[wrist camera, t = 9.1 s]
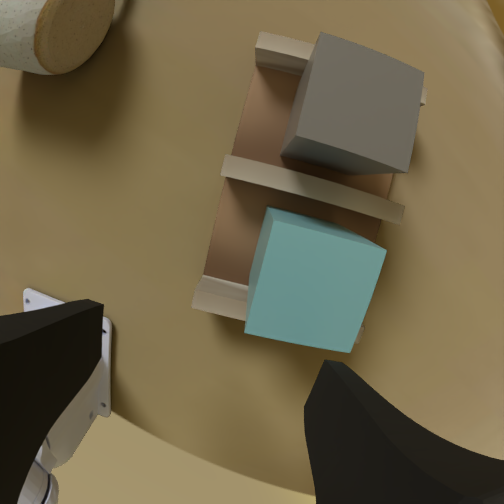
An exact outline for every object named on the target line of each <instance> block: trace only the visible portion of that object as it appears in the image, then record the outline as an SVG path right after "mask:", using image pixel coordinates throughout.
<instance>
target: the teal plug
mask: <svg viewBox="0 0 504 504" xmlns="http://www.w3.org/2000/svg"><path fill="white" fill-rule="evenodd" d="M386 252H387V250H385V249H384V248H382V247H380V246H378V245H376V244H375V243H373V242H371V241H369V240H367V239H366V238H364V237H362V236H360V235H358V234H356V233H354V232H353V231H351V230H349V229H347V228H345V227H343V226H341V225H339V224H337V223H334V222H330V221H326V220H323V219H319V218H315V217H312V216H308V215H304V214H300V213H296V212H293V211H289V210H285V209H281V208H277V207H273V206H269V205H267V207H266V211H265V215H264V219H263V223H262V227H261V231H260V235H259V239H258V243H257V247H256V251H255V255H254V259H253V263H252V267H251V271H250V275H249V286H248V297H247V308H246V319H245V330H244V333H247V334H251V335H256V336H261V337H265V338H270V339H275V340H280V341H285V342H290V343H295V344H300V345H306V346H311V347H317V348H322V349H328V350H334V351H340V352H346V353H350V352H351V349H352V347H353V344H354V342H355V339H356V337H357V334H358V332H359V329H360V327H361V324H362V322H363V319H364V316H365V314H366V311H367V308H368V306H369V303H370V300H371V297H372V294H373V292H374V289H375V286H376V283H377V280H378V277H379V274H380V271H381V268H382V265H383V262H384V258H385V255H386Z"/></svg>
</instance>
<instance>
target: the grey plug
mask: <svg viewBox="0 0 504 504" xmlns="http://www.w3.org/2000/svg"><path fill="white" fill-rule="evenodd" d="M423 81H424V72H422V71H420V70H418V69H416V68H414V67H412V66H410V65H408V64H405V63H403V62H401V61H399V60H397V59H394V58H392V57H390V56H387V55H385V54H382V53H380V52H378V51H375V50H372V49H370V48H367V47H365V46H362V45H359V44H356V43H354V42H351V41H348V40H345V39H342V38H339V37H336V36H333V35H330V34H326V33H323V32H320V35H319V37H318V39H317V42H316V44H315V46H314V49H313V51H312V53H311V56H310V58H309V60H308V63H307V65H306V67H305V70H304V72H303V75H302V77H301V79H300V82H299V84H298V86H297V89H296V93H295V97H294V101H293V105H292V109H291V113H290V117H289V121H288V125H287V129H286V133H285V137H284V141H283V145H282V149H281V153H280V155H281V156H284V157H288V158H292V159H296V160H299V161H303V162H306V163H310V164H313V165H317V166H320V167H324V168H327V169H330V170H333V171H337V172H340V173H343V174H346V175H349V176H354V175H371V174H391V173H408V169H409V164H410V160H411V155H412V150H413V145H414V140H415V134H416V128H417V123H418V117H419V110H420V103H421V96H422V89H423Z"/></svg>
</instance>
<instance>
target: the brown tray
mask: <svg viewBox="0 0 504 504" xmlns="http://www.w3.org/2000/svg"><path fill="white" fill-rule="evenodd" d="M314 46H315V44H311V43H308V42H304V41H300V40H297V39H293V38H289V37H284V36H280V35H276V34H271V33H266V32H261V31H260V34H259V37H258V40H257V43H256V47H255V55H256V66H255V69H254V73H253V76H252V80H251V83H250V87H249V90H248V94H247V98H246V101H245V105H244V108H243V112H242V116H241V120H240V123H239V127H238V131H237V135H236V138H235V142H234V146H233V150H232V154H231V155H228V154H225V158H224V162H223V166H222V170H221V174H220V175H222V176H226V178H225V182H224V186H223V190H222V194H221V198H220V203H219V207H218V211H217V215H216V220H215V224H214V228H213V233H212V237H211V242H210V246H209V251H208V255H207V260H206V264H205V269H204V274H203V276H202V278H201V280H200V281H199V283H198V285H197V287H196V288H195V291H194V296H193V301H192V306H191V308H195V309H198V310H202V311H206V312H210V313H214V314H218V315H222V316H226V317H230V318H234V319H239V320H243V321H245V319H246V308H247V297H248V286H249V275H250V271H251V267H252V263H253V259H254V255H255V251H256V247H257V243H258V239H259V235H260V231H261V227H262V223H263V219H264V215H265V211H266V207H267V205H269V206H273V207H277V208H281V209H285V210H289V211H293V212H296V213H300V214H304V215H308V216H312V217H315V218H319V219H323V220H326V221H330V222H334V223H337V224H339V225H341V226H343V227H345V228H347V229H349V230H351V231H353V232H354V233H356V234H358V235H360V236H362V237H364V238H366V239H367V240H369V241H371V242H373V243H375V240H376V237H377V233H378V230H379V226H380V223H381V219H382V220H385V221H388V222H392V223H395V224H398V225H400V223H401V219H402V215H403V212H404V208H405V206H404V205H401V204H398V203H395V202H392V201H390V200H387V196H388V192H389V188H390V184H391V180H392V176H393V173H391V174H371V175H354V176H349V175H346V174H343V173H340V172H337V171H333V170H330V169H327V168H324V167H320V166H317V165H313V164H310V163H306V162H303V161H299V160H296V159H292V158H288V157H284V156H281V155H280V153H281V149H282V145H283V141H284V137H285V133H286V129H287V125H288V121H289V117H290V113H291V109H292V105H293V101H294V97H295V93H296V89H297V86H298V84H299V82H300V79H301V77H302V75H303V72H304V70H305V67H306V65H307V63H308V60H309V58H310V56H311V53H312V51H313V49H314ZM426 96H427V88H426V87H424V86H423V89H422V96H421V103H420V106H423V105H425V103H426ZM364 329H365V327H364V325H363V324H361V327H360V329H359V332H358V334H357V337H356V339H355V342H354V343H356V344H359V341H360V339H361V336H362V334H363V331H364Z"/></svg>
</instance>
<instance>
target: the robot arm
mask: <svg viewBox="0 0 504 504" xmlns="http://www.w3.org/2000/svg"><path fill="white" fill-rule="evenodd" d="M23 299H24V312H21V313H16V314H11V315H4V316H0V504H57V503H58V492H59V490H58V482H57V480H56V478H55V476H54V475H53V474H52V473H51V471H52V469H53V468H57V467H59V466H61V465H63V464H64V463H66V462H67V461H68V460H69V459H70V458H71V457H72V455H73V454H74V452H75V450H76V449H77V447H78V445H79V444H80V442H81V441H82V439H83V437H84V436H85V434H86V433H87V431H88V429H89V428H90V426H91V424H92V423H93V421H94V420H95V418H96V416H97V415H98V414H99V415H101V416H104V417H109V416H110V414H111V395H110V368H111V336H112V323H111V321H110V320H109V319H108V318H106V317H103V309H104V304H101V303H98V302H95V301H92V300H89V299H84V300H77V301H72V302H68V303H65V302H62V301H60V300H57V299H55V298H52V297H50V296H47V295H45V294H42V293H40V292H38V291H35V290H33V289H30V288H27V289H25V290H24V292H23ZM28 299H29V301H30V302H29V301H28ZM103 329H104V330H105V331H106V333H104V332H103ZM104 403H105V404H104ZM304 427H305V437H306V443H307V448H308V454H309V459H310V464H311V470H312V475H313V480H314V486H315V494H316V504H504V460H499V459H495V458H491V457H488V456H484V455H481V454H478V453H475V452H472V451H470V450H467V449H465V448H462V447H460V446H458V445H455V444H453V443H451V442H449V441H447V440H445V439H443V438H441V437H439V436H437V435H435V434H434V433H432V432H430V431H429V430H427V429H425V428H424V427H422V426H421V425H419V424H417V423H416V422H414V421H413V420H411V419H410V418H409V417H407V416H406V415H404V414H403V413H402V412H401V411H399V410H398V409H397V408H395V407H394V406H393V405H392V404H390V403H389V402H388V401H387V400H386V399H384V398H383V397H382V396H381V395H380V394H379V393H377V392H376V391H375V390H374V389H373V388H372V387H371V386H369V385H368V384H367V383H366V382H365V381H364V380H363V379H362V378H361V377H359V376H358V375H357V374H356V373H355V372H354V371H353V370H351V369H350V368H349V367H348V366H346V365H345V364H344V363H342V362H336V361H330V360H324V362H323V365H322V367H321V369H320V372H319V374H318V377H317V379H316V381H315V383H314V386H313V388H312V390H311V393H310V395H309V397H308V399H307V401H306V404H305V406H304Z"/></svg>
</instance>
